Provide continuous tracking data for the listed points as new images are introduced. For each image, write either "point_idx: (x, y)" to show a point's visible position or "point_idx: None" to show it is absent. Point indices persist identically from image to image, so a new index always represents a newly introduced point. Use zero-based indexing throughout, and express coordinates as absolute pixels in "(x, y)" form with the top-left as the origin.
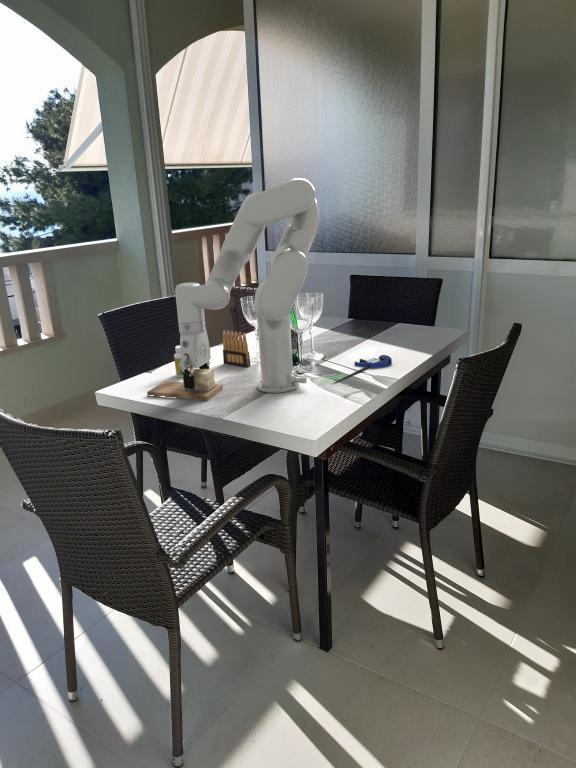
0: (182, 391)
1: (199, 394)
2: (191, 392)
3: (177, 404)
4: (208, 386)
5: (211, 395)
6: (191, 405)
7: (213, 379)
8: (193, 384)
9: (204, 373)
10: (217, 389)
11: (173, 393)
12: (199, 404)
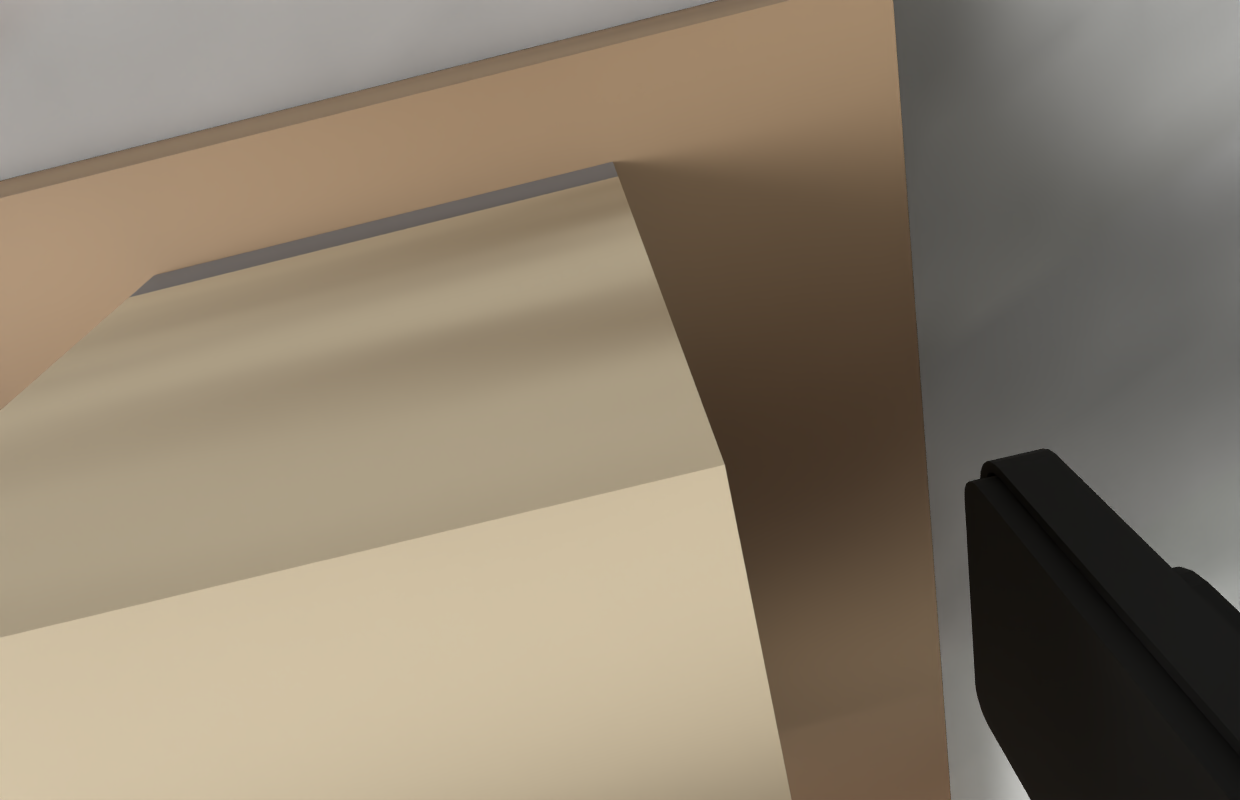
0: (795, 741)
1: (862, 283)
2: (792, 553)
3: (1199, 468)
4: (590, 217)
5: (616, 32)
6: (1230, 154)
7: (102, 377)
8: (1121, 539)
9: (619, 682)
10: (196, 143)
11: (949, 796)
12: (1142, 2)
